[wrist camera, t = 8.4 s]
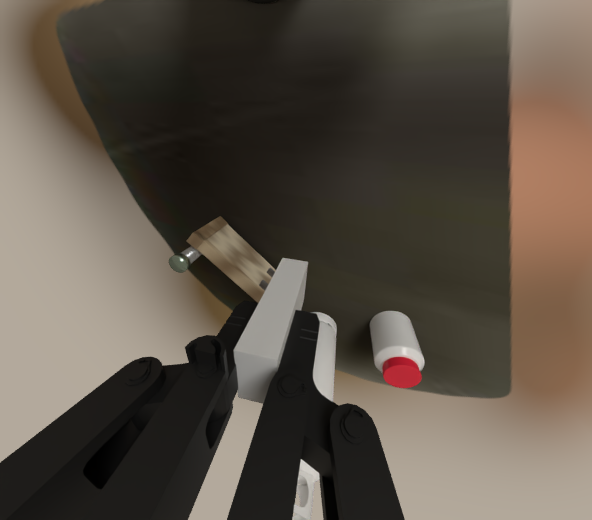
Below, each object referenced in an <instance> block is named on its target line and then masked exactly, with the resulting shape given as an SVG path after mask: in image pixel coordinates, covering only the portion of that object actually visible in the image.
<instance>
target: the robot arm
mask: <svg viewBox="0 0 592 520" xmlns="http://www.w3.org/2000/svg"><path fill="white" fill-rule="evenodd" d="M248 1H251V2H255V3H270V2H275V1H278V0H248ZM307 266H308V262H305V261H299V260H293V259H286V258H282V260H281V262H280V264H279V266H278V268H277V270H276V271H275V273H274V275H273V277H272V279H271V281H270V283H269V285H268V286H267V288H266V290H265V292H264V294H263V296H262V298H261V300H260V301H259V303H254V302H249V301H243V302H242V303H241V304H239V305H238V306H236V307H235V309H234V310H233V312H232V313H231V316H230V317H229V318H228V320H227V321H226V324H224V326H223V327H222V329H221V330H220V332H219V333H218V335H217V336H209V335H206V336H203V337H198V338H197V339H195V340H193V341H191V342H190V343H189V344H188V345H187V346H186V347H185V349H186V353H187V357H188V360H189V363H185V364H177V365H167V366H162V363H161V362H160V361H159V360H158V359H157V358H154V357H142V358H140V359H137V360H134V361H132V362H131V363H129V364H127V365H126V366H124V367H123V368H122V369H120V370H119V371H118V372H117V373H115V374H114V375H113V376H111V377H110V378H109V379H108V380H106V381H105V382H104V383H102V384H101V385H100V386H99V387H97V388H96V389H95V390H93V391H92V392H91V393H90V394H88V395H87V396H86V397H84V398H83V399H82V400H80V401H79V402H78V403H77V404H75V405H74V406H73V407H71V408H70V409H69V410H68V411H67V412H65V413H64V414H63V415H61V416H60V417H59V418H57V419H56V420H55V421H53V422H52V423H51V424H49V425H48V426H47V427H46V428H44V429H43V430H42V431H40V432H39V433H38V434H37V435H35V436H34V437H33V438H31V439H30V440H29V441H28V442H26V443H25V444H24V445H23V446H21V447H20V448H19V449H17V450H16V451H15V452H14V453H12V454H11V455H9V456H8V457H7V458H6V459H4V460H3V461H2V462H1V463H0V520H188V518H189V515H190V513H191V511H192V508H193V506H194V503H195V501H196V498H197V496H198V493H199V491H200V489H201V486H202V484H203V482H204V479H205V477H206V474H207V472H208V469H209V467H210V465H211V462H212V460H213V457H214V455H215V453H216V450H217V448H218V445H219V443H220V440H221V438H222V435H223V433H224V431H225V428H226V426H227V424H228V421H229V418H230V416H231V414H232V409H233V404H232V402H233V399H234V397H235V395H236V392H237V390H238V397H239V398H243V399H247V400H251V401H255V402H259V403H263V407H262V410H261V413H260V416H259V419H258V423H257V426H256V429H255V432H254V435H253V438H252V442H251V445H250V448H249V451H248V455H247V458H246V461H245V464H244V467H243V470H242V473H241V477H240V480H239V483H238V486H237V489H236V493H235V496H234V499H233V502H232V505H231V508H230V512H229V515H228V518H227V520H292V517H293V510H294V503H295V496H296V489H297V482H298V476H299V469H300V462H301V459H302V460H303V461H304V462H306V463H307V464H308V465H309V466H311V467H312V468H313V469H314V470H316V471H317V472H318V473H319V477H320V488H321V498H322V507H323V518H324V520H404V516H403V513H402V509H401V506H400V503H399V500H398V497H397V494H396V490H395V487H394V484H393V481H392V477H391V474H390V471H389V468H388V464H387V461H386V458H385V454H384V451H383V448H382V445H381V442H380V438H379V435H378V432H377V429H376V426H375V424H374V422H373V420H372V418H371V417H370V416H369V415H368V414H367V413H366V411H365V410H363V409H362V408H360V407H358V406H357V405H353V404H348V403H347V404H343V405H340V406H338V405H337V404H335V403H334V402H332V401H330V400H329V399H327V398H326V397H325V396H323V395H322V394H321V393H320V392H319V390H318V389H317V387H316V385H315V383H314V380H313V368H314V361H315V354H316V347H317V340H318V333H319V326H320V321H319V319H318V316H317V314H316V313H310V312H305V311H301V308H302V304H303V301H304V293H305V284H306V275H307Z"/></svg>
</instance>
